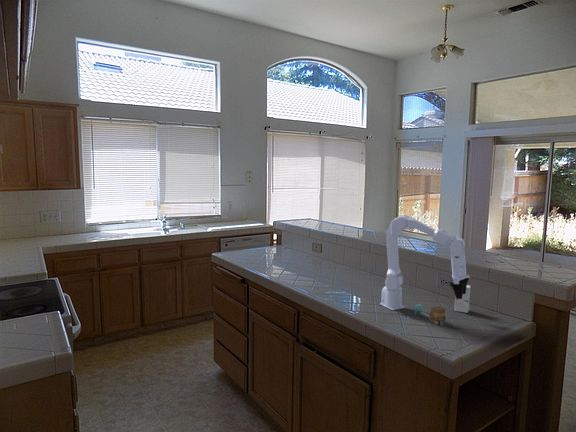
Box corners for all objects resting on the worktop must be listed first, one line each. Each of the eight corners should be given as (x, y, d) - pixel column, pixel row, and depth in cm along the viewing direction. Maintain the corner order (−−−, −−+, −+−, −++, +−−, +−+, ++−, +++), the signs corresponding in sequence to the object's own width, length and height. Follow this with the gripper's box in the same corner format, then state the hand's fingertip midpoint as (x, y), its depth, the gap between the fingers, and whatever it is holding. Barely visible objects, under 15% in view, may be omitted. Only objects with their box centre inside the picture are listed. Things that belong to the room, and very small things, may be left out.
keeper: (429, 321, 167) (430, 307, 166) (437, 319, 169) (438, 305, 168) (436, 324, 163) (437, 310, 162) (445, 322, 165) (445, 308, 164)
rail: (414, 313, 176) (414, 305, 175) (419, 312, 177) (419, 304, 177) (442, 326, 162) (442, 317, 161) (447, 325, 163) (447, 316, 163)
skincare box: (454, 311, 179) (455, 285, 178) (455, 307, 183) (456, 283, 181) (468, 313, 176) (470, 287, 175) (469, 310, 180) (470, 285, 179)
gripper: (465, 269, 159) (467, 301, 160) (471, 262, 171) (474, 292, 172) (447, 269, 163) (449, 300, 164) (454, 261, 175) (457, 291, 176)
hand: (460, 296), depth 168 cm, fingers open, 7 cm apart
